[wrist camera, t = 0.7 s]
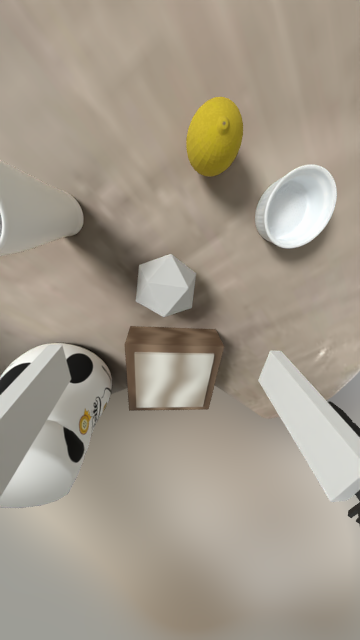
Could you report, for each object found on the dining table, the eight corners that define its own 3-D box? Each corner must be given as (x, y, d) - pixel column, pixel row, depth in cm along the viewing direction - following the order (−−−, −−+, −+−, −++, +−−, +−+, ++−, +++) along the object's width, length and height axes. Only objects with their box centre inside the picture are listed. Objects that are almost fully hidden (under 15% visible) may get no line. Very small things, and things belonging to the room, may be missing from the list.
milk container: (125, 393, 41) (100, 500, 25) (48, 403, 41) (-26, 518, 25) (102, 329, 33) (44, 428, 17) (5, 341, 32) (-146, 454, 17)
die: (130, 260, 28) (119, 316, 24) (167, 227, 23) (161, 292, 19) (168, 284, 33) (165, 333, 29) (206, 262, 28) (208, 318, 24)
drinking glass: (100, 229, 25) (32, 236, 12) (59, 249, 26) (-47, 276, 13) (68, 172, 22) (-72, 97, 9) (23, 196, 23) (-169, 161, 10)
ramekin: (254, 253, 29) (268, 257, 25) (246, 187, 24) (261, 181, 21) (310, 233, 28) (333, 235, 24) (312, 162, 24) (341, 151, 20)
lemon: (226, 119, 21) (258, 67, 14) (227, 178, 24) (254, 160, 17) (179, 127, 21) (188, 80, 14) (186, 186, 24) (195, 170, 17)
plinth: (133, 388, 40) (128, 412, 35) (130, 326, 33) (124, 346, 28) (203, 387, 42) (208, 411, 37) (215, 329, 35) (224, 348, 29)
